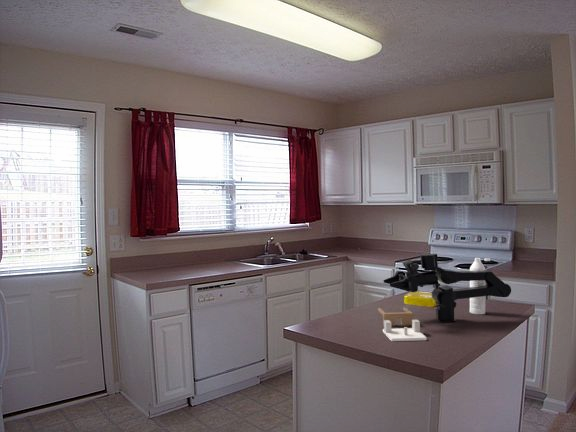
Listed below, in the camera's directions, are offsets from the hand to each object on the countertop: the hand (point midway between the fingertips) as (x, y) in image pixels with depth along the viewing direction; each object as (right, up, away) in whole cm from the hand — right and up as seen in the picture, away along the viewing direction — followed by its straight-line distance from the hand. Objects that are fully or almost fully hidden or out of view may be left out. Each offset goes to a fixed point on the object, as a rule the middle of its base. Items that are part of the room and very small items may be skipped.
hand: (386, 283), depth 183 cm
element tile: (+26, -16, +35) cm, 46 cm away
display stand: (+2, -17, -18) cm, 25 cm away
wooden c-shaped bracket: (+4, -16, 0) cm, 17 cm away
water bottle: (+45, -16, +13) cm, 49 cm away
